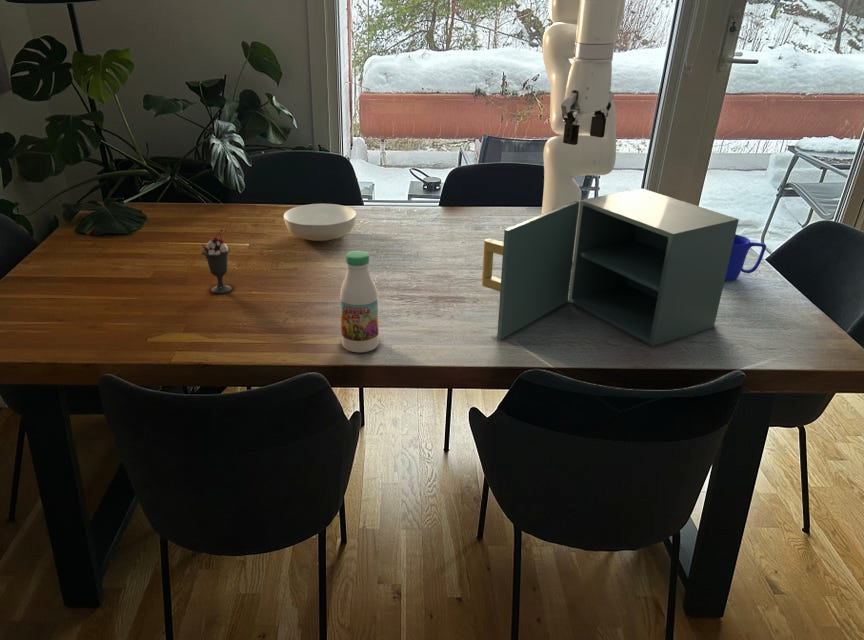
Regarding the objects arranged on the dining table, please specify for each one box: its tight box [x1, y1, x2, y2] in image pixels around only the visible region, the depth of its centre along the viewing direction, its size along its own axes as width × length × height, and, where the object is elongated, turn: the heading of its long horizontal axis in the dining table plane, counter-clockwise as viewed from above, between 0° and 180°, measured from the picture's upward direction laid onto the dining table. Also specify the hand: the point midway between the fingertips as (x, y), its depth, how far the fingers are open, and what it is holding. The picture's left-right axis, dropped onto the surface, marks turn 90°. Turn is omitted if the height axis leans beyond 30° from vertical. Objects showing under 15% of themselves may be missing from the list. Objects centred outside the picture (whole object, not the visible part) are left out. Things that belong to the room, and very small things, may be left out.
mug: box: [724, 234, 767, 282], centre depth 176 cm, size 8×12×10 cm
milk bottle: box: [339, 250, 380, 353], centre depth 145 cm, size 8×8×20 cm
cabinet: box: [568, 188, 740, 347], centre depth 155 cm, size 18×26×24 cm
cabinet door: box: [481, 201, 579, 340], centre depth 155 cm, size 8×26×24 cm, turn 136°
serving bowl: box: [283, 203, 357, 242], centre depth 208 cm, size 21×21×7 cm
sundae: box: [201, 229, 233, 295], centre depth 173 cm, size 7×7×15 cm
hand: (583, 140), depth 152 cm, fingers open, 9 cm apart
